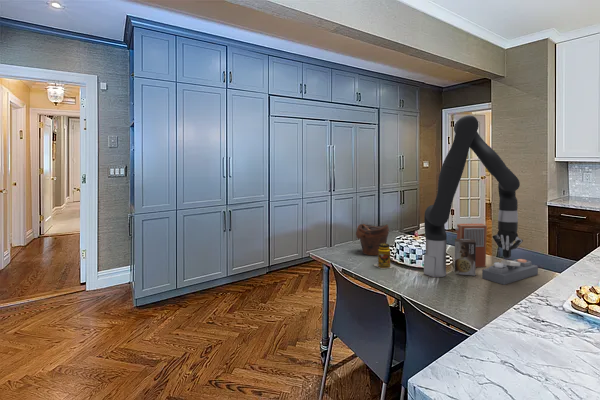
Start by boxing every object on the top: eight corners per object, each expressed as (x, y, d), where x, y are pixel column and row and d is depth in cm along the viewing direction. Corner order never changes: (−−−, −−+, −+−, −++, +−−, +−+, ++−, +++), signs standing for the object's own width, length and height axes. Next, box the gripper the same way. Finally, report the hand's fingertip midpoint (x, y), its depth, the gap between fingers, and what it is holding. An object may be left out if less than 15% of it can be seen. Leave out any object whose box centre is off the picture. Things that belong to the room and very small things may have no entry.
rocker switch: (510, 265, 151) (510, 262, 151) (501, 263, 155) (501, 260, 155) (520, 265, 155) (520, 262, 155) (511, 263, 159) (511, 260, 159)
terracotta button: (523, 266, 157) (523, 261, 157) (515, 264, 160) (515, 259, 160) (528, 264, 159) (528, 260, 158) (520, 263, 162) (520, 258, 162)
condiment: (382, 269, 171) (382, 246, 170) (372, 265, 179) (372, 243, 177) (394, 267, 174) (394, 244, 172) (384, 263, 181) (384, 241, 180)
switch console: (504, 284, 145) (504, 271, 145) (482, 278, 154) (482, 265, 154) (537, 274, 157) (538, 262, 157) (515, 268, 166) (516, 257, 165)
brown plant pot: (352, 249, 211) (352, 221, 209) (383, 248, 213) (383, 220, 211) (360, 257, 194) (360, 227, 191) (394, 256, 196) (394, 225, 194)
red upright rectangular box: (453, 263, 178) (483, 263, 176) (458, 267, 171) (489, 267, 169) (454, 223, 175) (484, 223, 174) (459, 225, 168) (490, 225, 167)
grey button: (500, 269, 149) (500, 264, 148) (492, 267, 152) (492, 262, 152) (505, 268, 150) (505, 263, 150) (497, 266, 153) (497, 261, 153)
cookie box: (474, 272, 163) (475, 239, 161) (475, 276, 157) (476, 242, 156) (454, 270, 167) (454, 238, 165) (454, 273, 161) (454, 240, 159)
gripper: (488, 219, 156) (487, 255, 157) (518, 222, 144) (517, 262, 146) (498, 217, 159) (497, 253, 161) (528, 221, 147) (526, 259, 149)
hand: (506, 257), depth 153 cm, fingers closed
